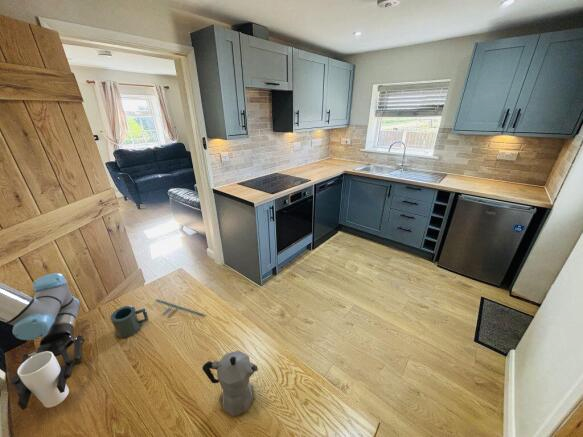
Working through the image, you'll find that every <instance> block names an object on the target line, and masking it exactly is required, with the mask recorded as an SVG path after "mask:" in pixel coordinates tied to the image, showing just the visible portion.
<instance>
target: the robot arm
mask: <svg viewBox="0 0 583 437" xmlns="http://www.w3.org/2000/svg"><path fill="white" fill-rule="evenodd" d="M32 287H33V291H34V292H35V294H34V296H31V295H28V294H26V293H25V292H22V291H20V290H17V289H16V288H13V287H11V286H9V285H7V284H4V283H2V282H0V321H1V322H4V323H7V324H8V325H12V326H13V327H12V335H13V336H14V337H15V338H16V339H19V340H20V341H21V340H22V341H32V340H37V339H39V338H41V339H40V342H39V346H38V347H37V348H36V350H35V351H34V352H31V353H28V352H27V353H23V354H22V355H21V358H22V361H21V362H20V364H19V366H18V368H19V367H20V365H21V364H22V363H23V362H25V361H26V360H27V359H29V358H30V357H32V356H34V355H36V354H38V353H41V352H46V351H49V352H52V353H53V354H54V356H55V357H59V356H61V358H62V360H63V362H64V364H63V365H61V366H60V368H61V371H60V375H59V379H58V384H57V388H58V390H59V391H60V393H62V392H64V391H65V386H66V385H67V380H68V379H70V378H71V377H72V376H73V375H72V374H73V369H74V367H76V366H79V365H81V364H82V362H83V344H84V343H85V338H84V336H83V334H78V335H77V336H76V337H75V336H74V335H75V331H76V325H77V319H78V315H79V311H80V308H81V307H80V300H79V299H78V298H77V297H76V296H73V294H72V292H71V289H70V287H69V284H68V281H67V280H66V278H65V276H64V275H63V274H62V273H58V272H55V273H53V272H52V273H49V274H45V275H43V276H40V277H38V278H37V279H35V281H33V282H32ZM72 345H74V346H73V352H74V353H73V358H72V359H71V358H70V356H69V353H68V351H67V350H68V349H69V348H70V347H71V346H72ZM17 371H18V369H17V370H16V372H15V375H14V376H13V378H12V380H11V382H10V383H11V385H12V386H13V388H14V389H15V390H17V392H16V394H17V396H18V401H17V405H18V406H19V407H20V409H21V410H22V411H23V410H25V409H27V408H28V404H29V401H30V399H31V395H32V392H31V391H30V390H29V389H28V388H27V387H26V386H25V385H24V384H23V382H22V381H21V379H20V377H19V375H18V374H17Z"/></svg>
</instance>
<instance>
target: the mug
mask: <svg viewBox="0 0 583 437" xmlns="http://www.w3.org/2000/svg"><path fill="white" fill-rule="evenodd" d="M141 313H142V315H143V317H144V318H141V319H140V320H139V316H138V315H140V314H141ZM148 321H149V314H148V311H147V309H146V307H145V308H144V307H143V308H141V309H137V310H136V307H134V306H133V305H124V306H122V307H119V308H117V309H115V310H114V311H113V312H112V313H111V314H110V322H111V324H112V327H113V330H114V331H115V334H116V337H118V338H120V339H124V338H125V339H126V338H128V337H131V336H133V335H135V334H136V333H137V332H138V331H139V330H140V328H141V324H143V323H146V322H148Z"/></svg>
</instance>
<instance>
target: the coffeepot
mask: <svg viewBox="0 0 583 437" xmlns="http://www.w3.org/2000/svg"><path fill="white" fill-rule="evenodd" d="M211 370H216V377H217V378H215V375H214V373H213V372H212V371H211ZM202 371H203V372H204V374H205V375H206V377H207V379H208V380H209V381H210V382H211V383H212V384H219V385H220V387H221V389H222V397H221V398H222V410H223V411H224V412H226V413H227V414H229V415H231V416H232V417H235V416H238V415H241V414H243V413H246V412H247V410H248V408H249V407H250V405H251V404H252V402H253V400H254V398H253V393H252V387H251V384H250V378H251V377H252V376H253V375H254V374H255V373H256V372H258V371H259V366H258V365H256V364H255V363H252V362H251V361H250V356H249V355H248V354H246V353H244V352H243V351H240V350H235V351H232V352H227V353H225V354H224V356H222V357H221V359H220V360H219V361H218V360H217V361H216V360H214V361H207V362H205V363H204V364H203V366H202Z"/></svg>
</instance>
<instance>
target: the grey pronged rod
mask: <svg viewBox="0 0 583 437" xmlns="http://www.w3.org/2000/svg"><path fill="white" fill-rule="evenodd" d="M156 301H158V302H160V303H163V304H167V305H170V306H171V307H176V308H178V309H182V310H186V311H188V312H191V313H195V314H198V315H200V316H204V314H203V313H199V312H197V311H194V310H190V309H187V308H185V307H182V306H178V305H175V304H172V303H170V302H166V301H164V300H163V301H162V300H160V299H156ZM171 307H169V308H167V309H166V310H165V311H163V313H162V314H163V315H165V314H166V313H167V312H168V311H169V310H171ZM171 316H172V314H171V315H169V318H170V317H171Z"/></svg>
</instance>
